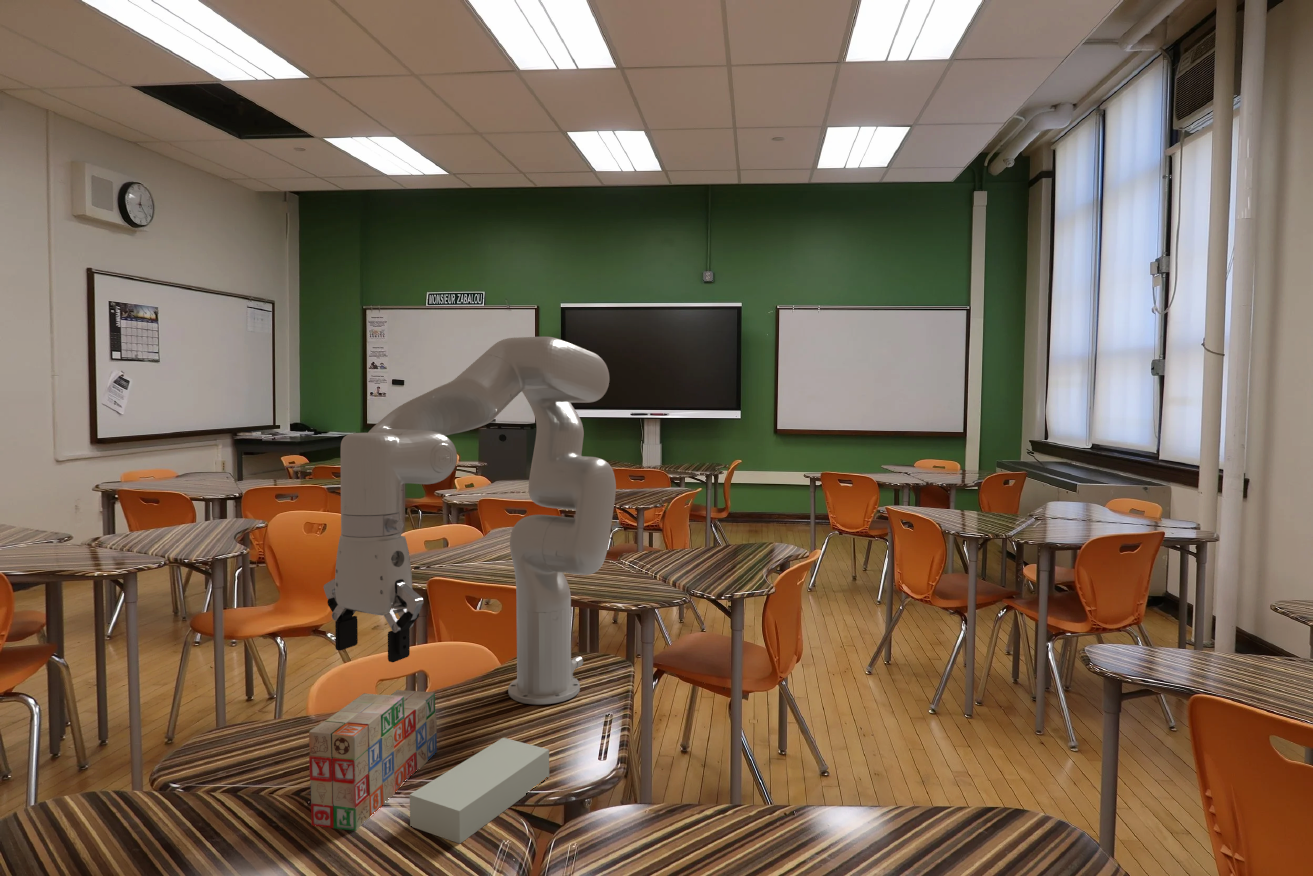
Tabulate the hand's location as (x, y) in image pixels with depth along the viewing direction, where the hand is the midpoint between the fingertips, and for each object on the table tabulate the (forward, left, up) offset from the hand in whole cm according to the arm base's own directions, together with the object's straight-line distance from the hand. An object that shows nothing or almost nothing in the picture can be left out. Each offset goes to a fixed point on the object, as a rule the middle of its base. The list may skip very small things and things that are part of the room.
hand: (372, 653), depth 105 cm
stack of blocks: (-1, 0, -19) cm, 19 cm away
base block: (-4, +15, -19) cm, 24 cm away
